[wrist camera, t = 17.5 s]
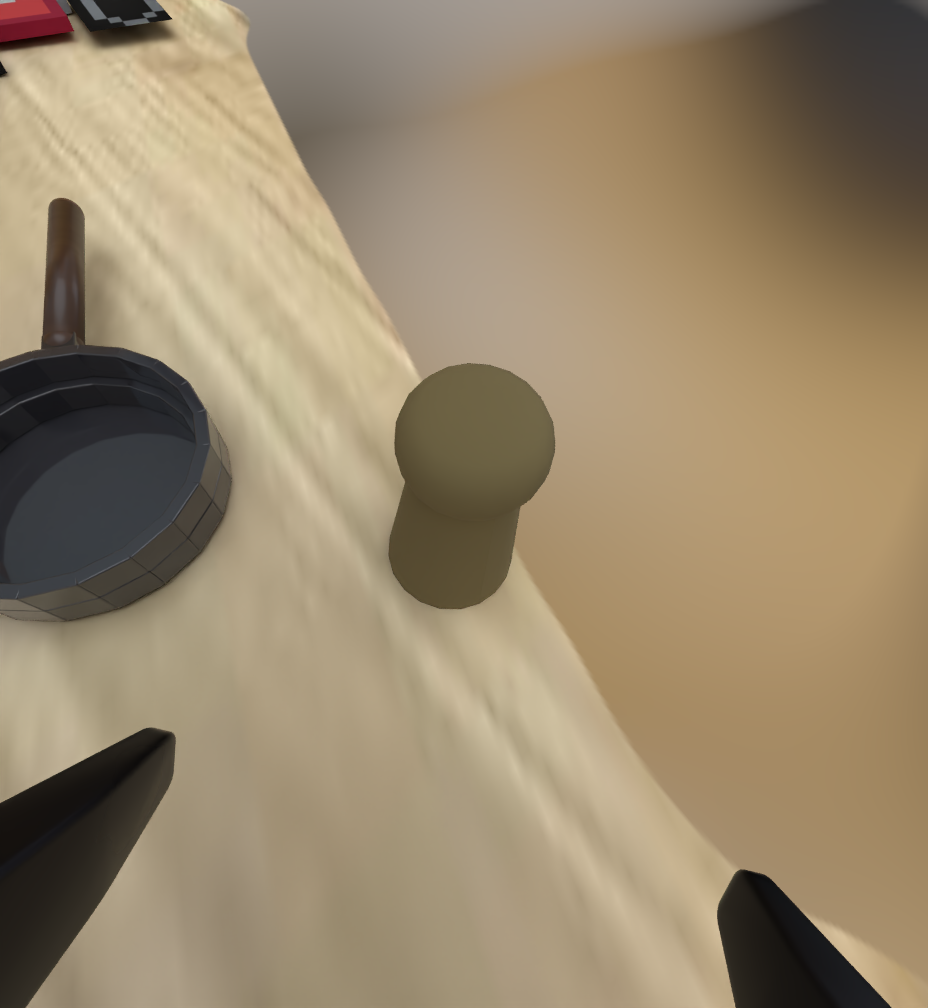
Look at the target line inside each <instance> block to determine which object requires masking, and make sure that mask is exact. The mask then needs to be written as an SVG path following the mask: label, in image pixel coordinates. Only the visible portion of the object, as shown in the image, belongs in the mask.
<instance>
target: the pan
mask: <svg viewBox="0 0 928 1008" xmlns="http://www.w3.org/2000/svg"><path fill="white" fill-rule="evenodd" d="M231 479H232V477H231V470H230V463H229V456H228V449H227V446H226V445H225V443H224V441H223V439H222V437H221V436H220V434H219V432H218V430H217V428H216V427H215V425H214V423H213V421H212V419H211V418H210V416H209V414H208V412H207V410H206V409H205V407H204V405H203V404H202V402H201V401H200V399H199V397H198V396H197V394H196V392H195V391H194V389H193V388H192V386H191V384H190V383H189V382H188V381H187V380H186V379H184V378H183V377H182V376H180V375H179V374H178V373H176V372H175V371H173V370H172V369H171V368H169V367H168V366H167V365H165V364H164V363H163V362H161V361H159V360H157V359H154V358H151V357H148V356H145V355H142V354H139V353H136V352H133V351H130V350H127V349H124V348H118V347H105V346H92V345H71V346H64V347H57V348H49V349H42V350H35V351H32V352H31V351H30V352H27V353H24V354H21V355H18V356H15V357H12V358H9V359H6V360H3V361H0V614H3V615H5V616H8V617H11V618H14V619H16V620H45V621H67V620H74V619H78V618H82V617H86V616H90V615H94V614H98V613H102V612H106V611H110V610H114V609H117V608H121V607H123V606H125V605H127V604H129V603H131V602H132V601H134V600H136V599H138V598H140V597H142V596H144V595H146V594H147V593H149V592H151V591H153V590H155V589H157V588H159V587H161V586H162V585H164V584H165V583H166V582H168V581H169V580H170V579H171V578H172V577H173V576H174V575H175V574H176V573H178V572H179V571H180V570H181V569H182V568H183V567H184V566H185V565H186V564H187V563H189V562H190V561H191V560H192V559H193V558H194V557H195V556H196V555H197V554H199V552H200V551H201V550H202V549H203V547H204V546H205V544H206V542H207V541H208V539H209V538H210V536H211V534H212V533H213V531H214V530H215V528H216V527H217V525H218V523H219V522H220V520H221V519H222V515H223V514H224V511H225V507H226V502H227V498H228V494H229V490H230V486H231Z"/></svg>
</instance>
